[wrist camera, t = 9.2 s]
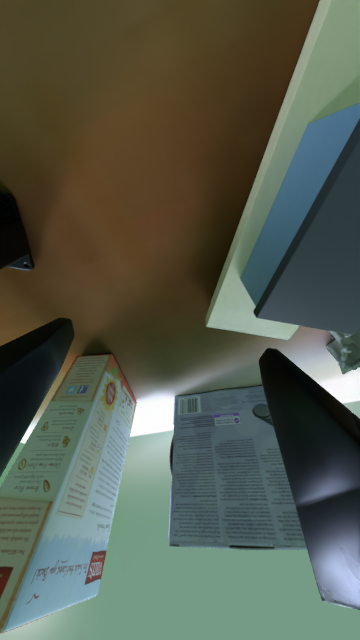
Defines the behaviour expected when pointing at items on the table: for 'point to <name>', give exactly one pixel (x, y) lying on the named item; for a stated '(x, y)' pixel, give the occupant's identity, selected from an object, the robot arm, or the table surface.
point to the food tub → (313, 233)
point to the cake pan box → (229, 475)
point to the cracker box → (64, 494)
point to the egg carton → (346, 350)
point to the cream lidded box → (291, 152)
